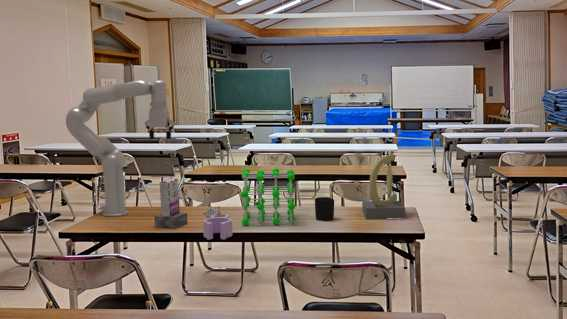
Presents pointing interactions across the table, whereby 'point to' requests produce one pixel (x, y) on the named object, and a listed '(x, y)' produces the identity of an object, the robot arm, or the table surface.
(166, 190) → the candy bar box
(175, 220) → the charcoal block
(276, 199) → the molecular structure model
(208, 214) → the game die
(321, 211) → the pen holder
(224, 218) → the clip
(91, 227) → the table surface
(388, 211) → the trophy
